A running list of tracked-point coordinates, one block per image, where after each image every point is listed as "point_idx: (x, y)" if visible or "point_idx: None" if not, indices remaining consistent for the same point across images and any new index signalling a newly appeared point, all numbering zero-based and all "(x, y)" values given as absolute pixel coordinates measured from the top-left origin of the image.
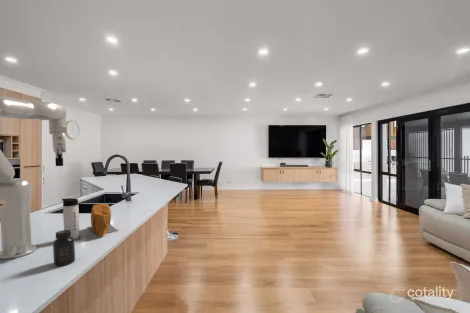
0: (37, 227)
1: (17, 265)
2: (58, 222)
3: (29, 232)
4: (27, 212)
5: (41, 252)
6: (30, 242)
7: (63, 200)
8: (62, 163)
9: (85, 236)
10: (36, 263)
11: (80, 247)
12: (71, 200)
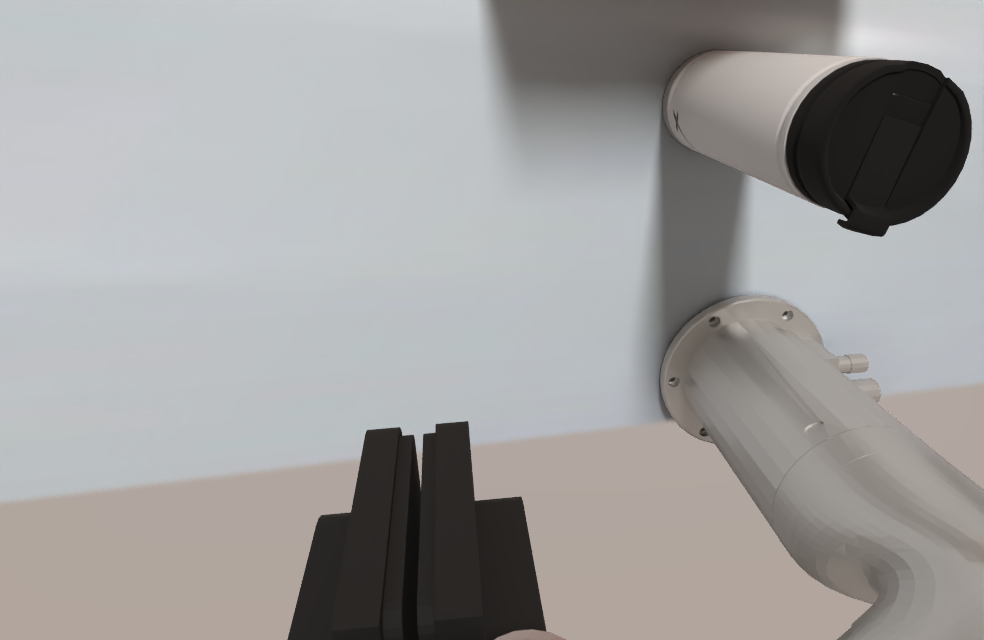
0: (172, 313)
1: (929, 350)
2: (71, 171)
3: (831, 368)
4: (935, 451)
5: (828, 267)
6: (792, 337)
7: (905, 220)
8: (469, 477)
9: (712, 5)
10: (980, 281)
11: (934, 67)
12: (925, 137)
